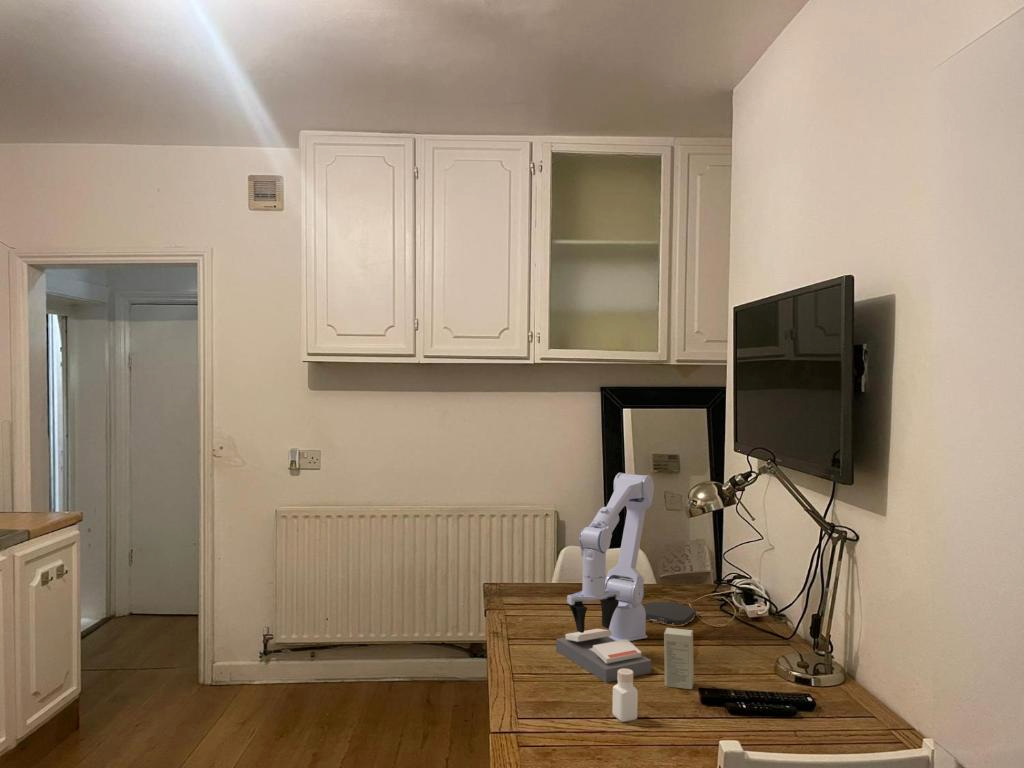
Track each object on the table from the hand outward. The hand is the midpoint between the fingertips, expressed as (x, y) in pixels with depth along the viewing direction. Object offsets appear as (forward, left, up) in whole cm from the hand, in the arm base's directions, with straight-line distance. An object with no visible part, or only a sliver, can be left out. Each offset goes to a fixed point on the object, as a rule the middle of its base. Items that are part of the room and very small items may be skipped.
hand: (593, 629), depth 182 cm
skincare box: (-8, +23, -7) cm, 25 cm away
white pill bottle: (+13, +31, -7) cm, 34 cm away
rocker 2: (0, +10, -3) cm, 10 cm away
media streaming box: (-37, -16, -7) cm, 41 cm away
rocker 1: (0, -2, -3) cm, 3 cm away
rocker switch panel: (0, +4, -7) cm, 8 cm away
